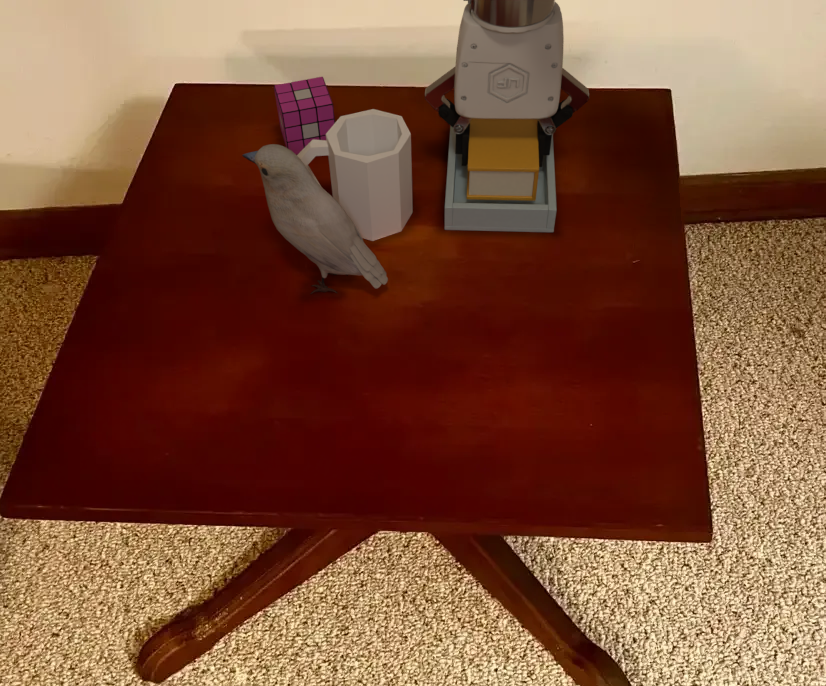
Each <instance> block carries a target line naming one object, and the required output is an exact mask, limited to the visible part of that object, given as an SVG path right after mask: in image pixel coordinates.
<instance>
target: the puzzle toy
mask: <svg viewBox="0 0 826 686" xmlns="http://www.w3.org/2000/svg"><path fill="white" fill-rule="evenodd" d="M273 90H274V91H273V92H274V96H275V103H276V110H277V115H278V121H279V128H280V131H281V135H282V138H283V141H284V142H283V143H284V145H285V147H286V148H288V149H290V150H291V151H293V152H294V153H295V154H296V155H298V154H299V153H300V152H301V151H302V150H303V149H304V148H305V147H306V146H307V145H308V144H309V143H310V142H311V141H312V140H313V139H314V140H326V133H327V132H328V131H329V130H330V128H331V127H332V126H333V125H334V124H335V122H336V119H335V109H334V108H335V107H334V103H333V100H332V97H331V95H330V92H329V89H328V86H327V84H326V80H325V78H324V76H317V77H312V78H307V79H301V80H295V81H292V82H284V83H278V84H274V85H273Z"/></svg>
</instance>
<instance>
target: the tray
mask: <svg viewBox="0 0 826 686" xmlns="http://www.w3.org/2000/svg"><path fill="white" fill-rule="evenodd" d="M537 120H538V119H537ZM448 140H449V141H448V153H447V154H448V155H447V168H446V169H447V170H446V184H445V198H444V226H443V227H444V231H473V232H475V231H477V232H478V231H479V232H512V233H513V232H515V233H516V232H517V233H518V232H519V233H554V232H555V224H556V218H557V207H558V206H557V190H556V170H555V152H554V149H555V148H554V134H552V139H551V147H550V155H543V163H542V167H539V175H538V184H537V193H536V201H525V200H472V199H467V178H468V165H466V166H462V154H455V150H456V133H455V132H454V131H453V127H451V126H450V125H449V139H448Z"/></svg>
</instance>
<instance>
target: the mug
mask: <svg viewBox="0 0 826 686" xmlns="http://www.w3.org/2000/svg"><path fill="white" fill-rule="evenodd" d="M297 156H298V157H299V158H300V159H301V161H302V162H303V163H304V165H305V166H306V168H307V169H308V171H309V172H310V174H311V175H312V176H313V178H314V179H315V180H316V182H317V183H318V184H319V185H320V186H321V187H322V185H321V184H320V182H319V180H318V179H317V177H316V175H315V174H314V172H313V170H312V169H311V167H310V165H309V164H310V163H311V162H312V161H313V160H314V159H315V158H316V157H322V156H323V157H324V156H327V157H328V165H329V166H328V167H329V173H330V176H329V177H330V182H331V193H332V197H333V198H334V199H335V200H336V201H337V202H338V203H339V204H340V205H341V206H342V208H343V209H344V210H345V212H346V213H347V215H348V216H349V217H350V218H351V220H352V221H353V223H354V224H355V226H356V227H357V229H358V231H359V233H360V234H361V237H362V239H363V240H368V241H370V242H374V241H377V240H379V239H382V238H386V237H389V236H392V235H395V234H399V233H401V232H402V231H403V230H404V228H405V226H406V225H407V223H408V221H409V220H410V218H411V216H412V214H413V213H414V211H413V209H414V207H413V206H414V205H413V168H412V167H413V166H412V165H413V164H412V134H411V131H410V129H409V127H408V126H407V124H406V122H405V119H404V118H403V116H402V115H398V114H395V113H391V112H387V111H383V110H379V109H375V108H372V109H367V110H363V111H359V112H354V113H349V114H345V115H340V116H339V117H338V118H337V120H335V124H334V125H333V126H332V127H331V128H330V130H329V131H328V132H327V133H326V140H314V139H313V140H312V141H311V142H310V143H309V144H308V145H307V146H306V147H305V148H304V149H303V150H302V151H301V152H300V153H299V154H297Z"/></svg>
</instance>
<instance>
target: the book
mask: <svg viewBox="0 0 826 686" xmlns="http://www.w3.org/2000/svg"><path fill="white" fill-rule="evenodd" d="M537 122H538V120H537V119H474V118H473V119H472V120H471V122H470V136H469V149H468V178H467V199H472V200H525V201H536V193H537V184H538V175H539V149H538V131H537Z"/></svg>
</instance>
